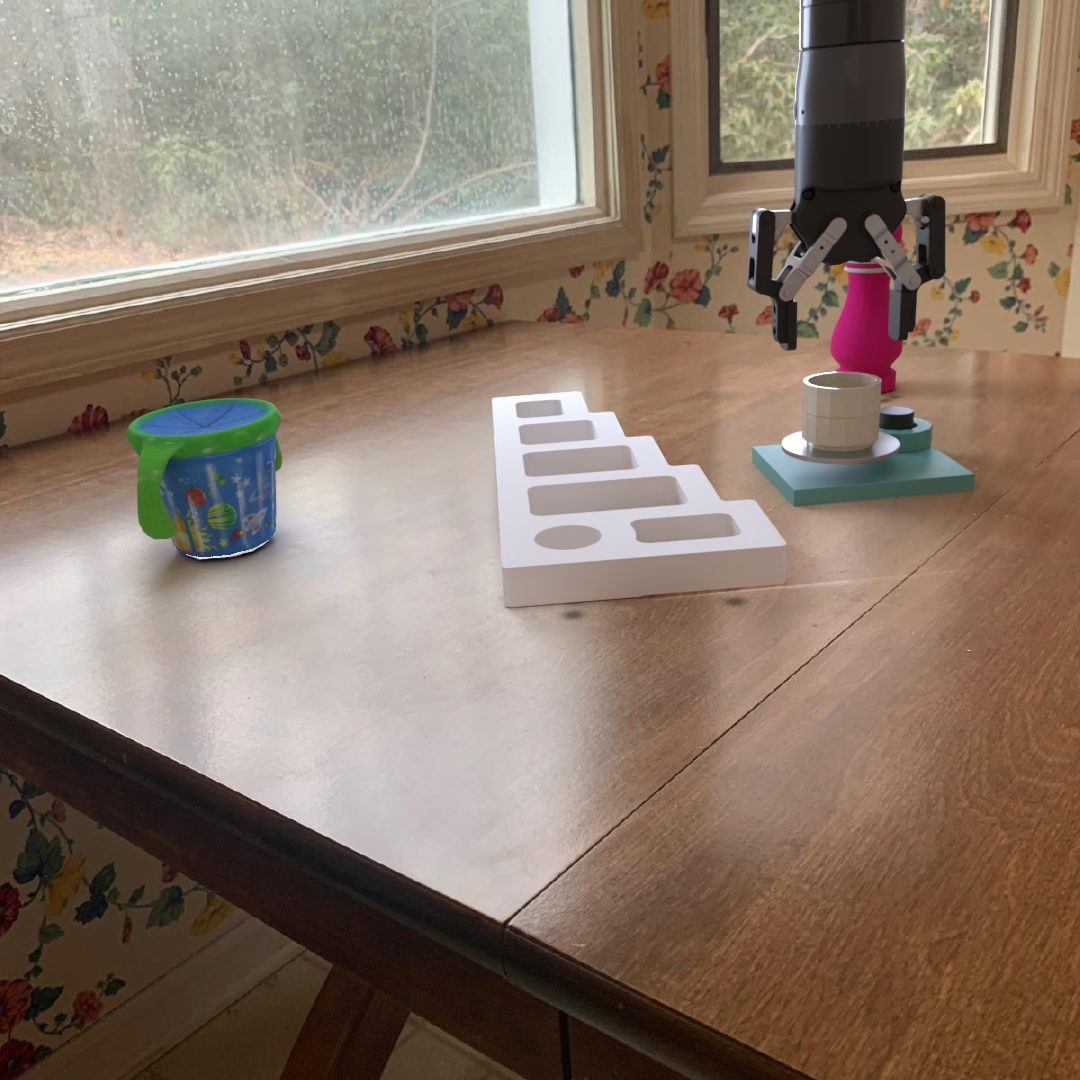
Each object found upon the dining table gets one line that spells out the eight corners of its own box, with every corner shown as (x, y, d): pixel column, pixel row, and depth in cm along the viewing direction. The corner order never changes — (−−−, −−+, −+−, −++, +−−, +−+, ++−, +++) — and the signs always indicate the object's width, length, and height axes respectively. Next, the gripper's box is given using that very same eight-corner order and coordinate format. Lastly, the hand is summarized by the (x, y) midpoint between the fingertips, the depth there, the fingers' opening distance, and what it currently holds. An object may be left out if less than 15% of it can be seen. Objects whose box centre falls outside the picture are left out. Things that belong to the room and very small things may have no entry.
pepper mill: (915, 386, 114) (927, 186, 107) (868, 399, 110) (877, 192, 103) (860, 376, 120) (868, 185, 112) (814, 388, 116) (819, 192, 109)
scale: (913, 446, 95) (915, 413, 93) (978, 490, 83) (981, 453, 82) (750, 460, 94) (750, 427, 93) (793, 507, 82) (794, 469, 81)
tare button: (905, 422, 92) (906, 405, 92) (918, 431, 90) (919, 413, 89) (873, 425, 92) (873, 407, 91) (885, 434, 89) (886, 416, 89)
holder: (493, 423, 111) (491, 397, 110) (669, 410, 111) (669, 384, 110) (505, 607, 69) (501, 568, 68) (787, 584, 69) (788, 545, 68)
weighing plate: (874, 427, 90) (874, 423, 90) (918, 458, 82) (919, 453, 82) (767, 437, 90) (767, 432, 89) (801, 469, 81) (801, 464, 81)
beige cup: (862, 430, 88) (865, 369, 87) (889, 449, 83) (893, 385, 81) (792, 436, 88) (793, 375, 86) (815, 456, 83) (817, 391, 81)
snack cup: (216, 593, 74) (188, 449, 70) (98, 578, 78) (66, 441, 74) (341, 516, 87) (324, 391, 84) (235, 506, 91) (214, 387, 88)
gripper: (764, 125, 73) (764, 363, 79) (971, 107, 74) (955, 345, 80) (737, 124, 80) (738, 343, 86) (926, 108, 81) (914, 326, 87)
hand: (843, 343), depth 83 cm, fingers open, 8 cm apart
